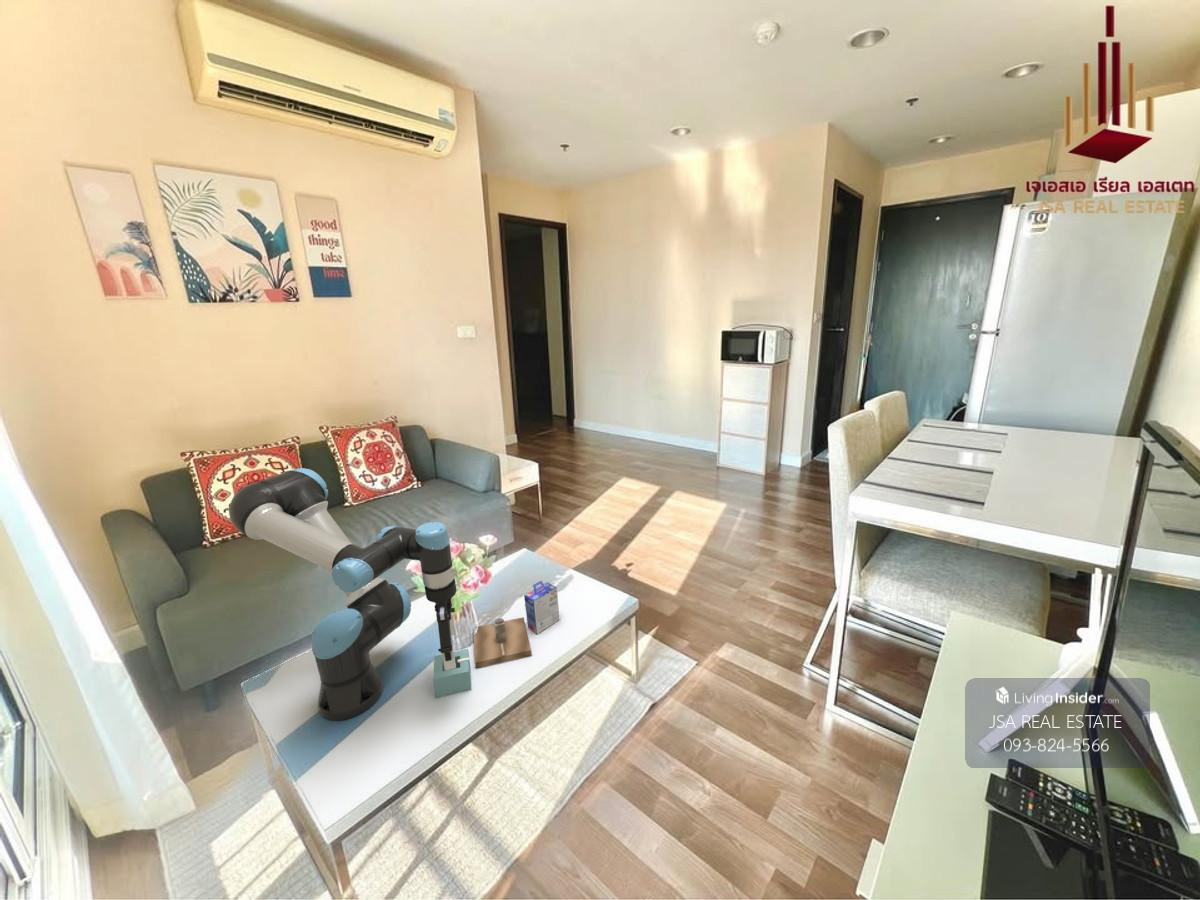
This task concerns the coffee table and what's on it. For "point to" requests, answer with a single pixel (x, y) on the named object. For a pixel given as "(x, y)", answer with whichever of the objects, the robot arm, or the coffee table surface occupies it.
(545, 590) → the ink cartridge box
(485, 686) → the coffee table surface
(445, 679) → the gray-green box with recess
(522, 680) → the coffee table surface
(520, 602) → the coffee table surface
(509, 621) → the brown wooden base
